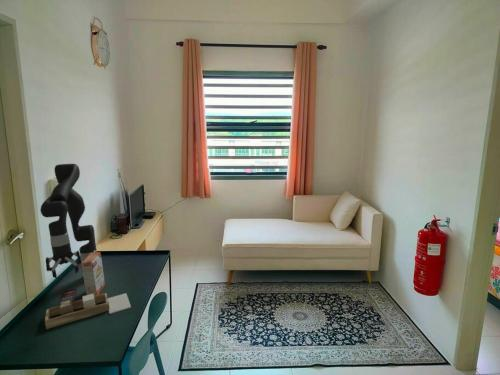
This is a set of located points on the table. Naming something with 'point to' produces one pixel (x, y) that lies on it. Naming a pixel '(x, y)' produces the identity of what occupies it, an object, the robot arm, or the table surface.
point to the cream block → (88, 301)
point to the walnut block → (65, 307)
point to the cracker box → (93, 274)
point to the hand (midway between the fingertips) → (66, 275)
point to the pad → (118, 303)
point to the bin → (78, 314)
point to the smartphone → (68, 296)
